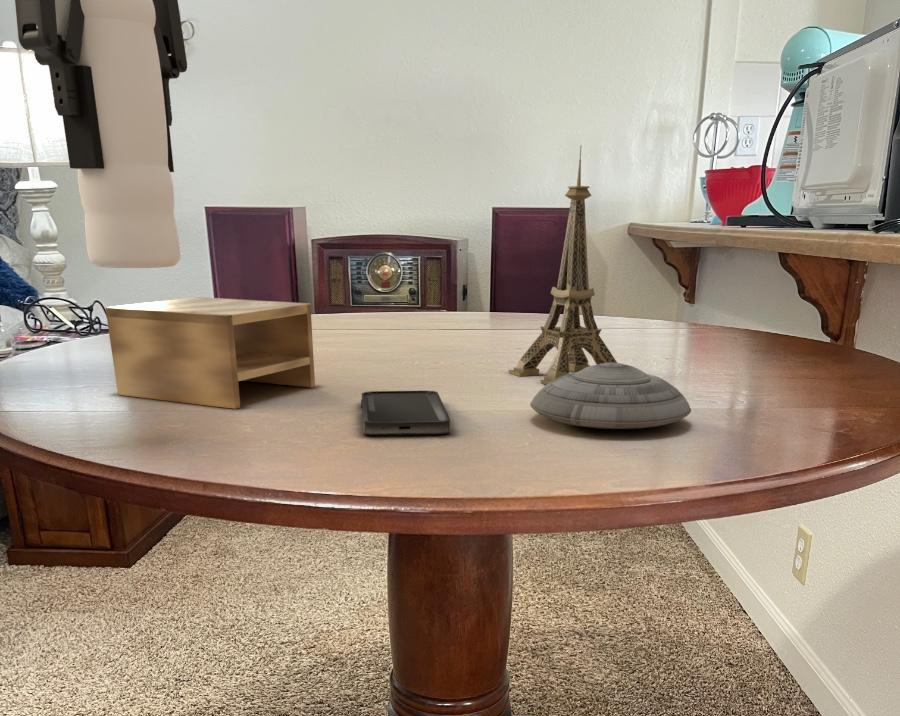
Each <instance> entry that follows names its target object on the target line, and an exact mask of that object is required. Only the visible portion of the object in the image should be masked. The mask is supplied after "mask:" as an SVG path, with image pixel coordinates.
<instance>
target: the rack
mask: <svg viewBox="0 0 900 716" xmlns="http://www.w3.org/2000/svg"><path fill="white" fill-rule="evenodd" d="M105 315H106V321H107V328H108V335H109V336H108V337H109V342H110V343H109V344H110V349H111V355H112V356H111V358H112V365H113V370H114V377H115V384H116V391H117V395H118V396H125V397H133V398H140V399H149V400H157V401H158V400H159V401H167V402H174V403H184V404H191V405H200V406H209V407H217V408H223V409H232V410H238V409H240V408H241V397H240V387H239V382H241V381H243V382H252V383H253V382H254V383H261V384H262V383H263V384H271V385H282V386H292V387H300V388H309V389H311V388H315V387H316V378H315V377H316V376H315V360H314V359H315V358H314V343H313V340H314V339H313V325H312V324H313V323H312V304H311V303H309V302H293V301H291V302H290V301H277V300H276V301H275V300H273V301H272V300H256V299H238V298H220V297H219V298H218V297H206V296H205V297H204V296H195V297H186V298H177V299H168V300H159V301H151V302H141V303H131V304H123V305H115V306H106V307H105Z"/></svg>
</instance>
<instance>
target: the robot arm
mask: <svg viewBox="0 0 900 716" xmlns="http://www.w3.org/2000/svg"><path fill="white" fill-rule="evenodd" d="M152 1H153V4H154V8H155V15H156V22H155V26H154V34H155V39H156V44H157V50H158V56H159V62H160V69H161V77H162V85H163V94H164V104H165V114H166V126H167V142H168V168H169V171H170V173H175V168H174V157H173V147H172V140H171V129H170V127H172V125H173V111H172V105H171V104H172V102H171V94H170V93H171V91H170V80H172V79H178V78H179V77H180V73H185V72H186V71H187V70H188V61H187V54H186V47H185V40H184V33H183V25H182V19H181V14H180V7H179V0H152ZM14 4H15V5H14V6H15V16H16V26H17V27H16V28H17V38H18V43H19V44H20V46H21V47H22V49H23V50H26V51H33V54H34V59H35V60H36V62H37V63H38V64H39V65H40V66H47V67H48V70H49V76H50V77H49V78H50V84H51V89H52V97H53V104H54V108H55V111H56V114H57V116H60V117H62V121H63V131H64V135H65V142H66V143H65V144H66V150H67V156H68V163H69V169H73V170H74V169H75V170H78V169H104V162H103V154H102V147H101V139H100V131H99V124H98V116H97V109H96V101H95V93H94V86H93V78H92V71H91V67H90V66H84V65H80V66H77V65H76V63H78V61H79V60H80V54H81V45H82V36H83V26H84V17H85V16H84V14H83V11H82V8H81V3H80V0H14Z"/></svg>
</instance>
